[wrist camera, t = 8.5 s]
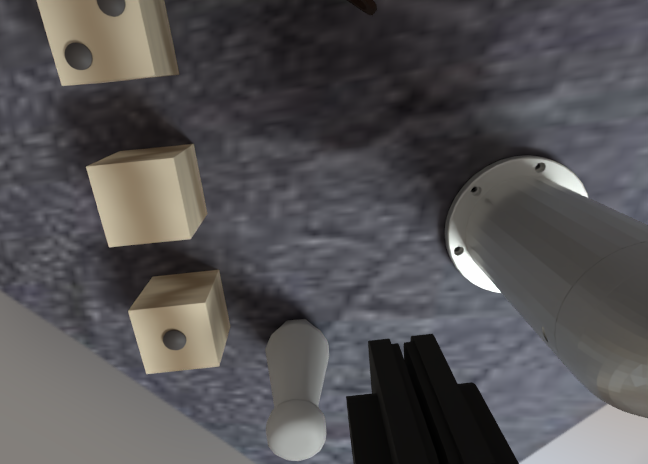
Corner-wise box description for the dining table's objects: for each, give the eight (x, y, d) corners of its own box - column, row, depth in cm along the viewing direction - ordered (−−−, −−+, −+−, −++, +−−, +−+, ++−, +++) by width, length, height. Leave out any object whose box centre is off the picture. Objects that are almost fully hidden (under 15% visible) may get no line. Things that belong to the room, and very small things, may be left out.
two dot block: (161, -14, 32) (130, -32, 26) (179, 74, 34) (154, 75, 28) (78, -5, 32) (28, -21, 26) (101, 82, 34) (60, 86, 28)
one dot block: (219, 269, 40) (204, 303, 34) (230, 326, 42) (218, 367, 36) (152, 276, 40) (127, 312, 34) (167, 332, 42) (145, 375, 36)
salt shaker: (314, 368, 44) (318, 484, 32) (259, 352, 43) (242, 465, 31) (336, 321, 42) (350, 424, 30) (280, 302, 41) (270, 402, 29)
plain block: (193, 143, 36) (173, 157, 30) (207, 213, 38) (190, 239, 32) (120, 151, 36) (85, 166, 30) (137, 220, 38) (108, 247, 32)
